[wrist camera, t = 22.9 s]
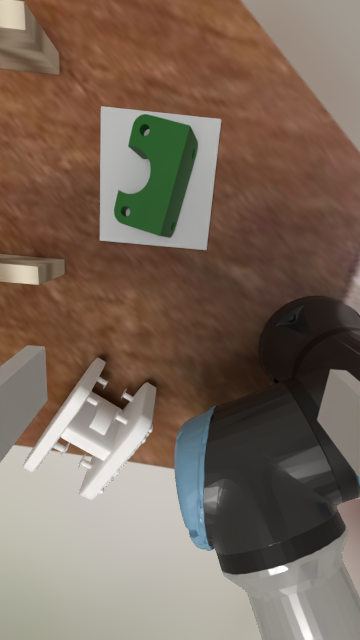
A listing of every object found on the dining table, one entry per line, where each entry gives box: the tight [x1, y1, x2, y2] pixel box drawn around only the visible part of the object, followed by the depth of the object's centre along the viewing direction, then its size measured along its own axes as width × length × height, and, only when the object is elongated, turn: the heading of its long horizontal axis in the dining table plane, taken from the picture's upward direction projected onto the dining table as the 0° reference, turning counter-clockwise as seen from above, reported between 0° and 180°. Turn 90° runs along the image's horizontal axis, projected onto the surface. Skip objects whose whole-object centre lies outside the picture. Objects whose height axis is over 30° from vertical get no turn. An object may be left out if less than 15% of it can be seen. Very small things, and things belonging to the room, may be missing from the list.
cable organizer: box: [23, 358, 156, 500], centre depth 41 cm, size 15×11×12 cm
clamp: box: [114, 114, 198, 238], centre depth 34 cm, size 12×6×9 cm, turn 157°
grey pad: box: [100, 106, 221, 250], centre depth 37 cm, size 14×15×1 cm
